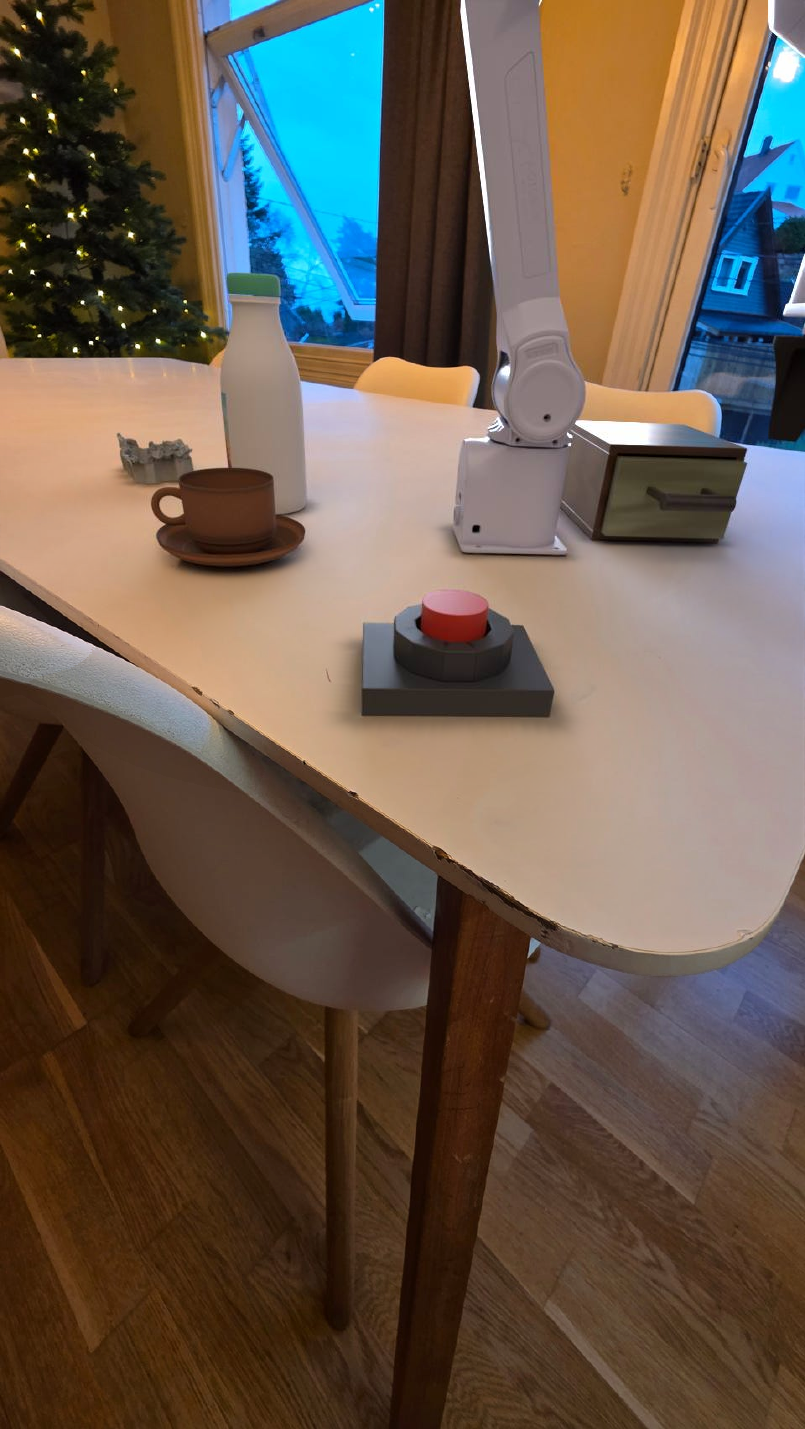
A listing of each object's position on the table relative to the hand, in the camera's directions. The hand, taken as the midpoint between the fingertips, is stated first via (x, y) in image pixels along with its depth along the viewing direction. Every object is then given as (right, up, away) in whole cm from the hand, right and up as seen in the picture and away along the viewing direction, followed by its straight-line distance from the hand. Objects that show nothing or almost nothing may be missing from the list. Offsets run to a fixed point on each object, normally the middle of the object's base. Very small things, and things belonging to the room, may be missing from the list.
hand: (785, 434), depth 53 cm
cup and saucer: (-47, -10, 0) cm, 48 cm away
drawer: (-8, -5, +8) cm, 13 cm away
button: (-30, -19, -19) cm, 40 cm away
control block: (-30, -22, -17) cm, 41 cm away
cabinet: (-9, -3, +13) cm, 16 cm away
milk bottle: (-47, -2, +12) cm, 48 cm away
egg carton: (-62, +5, +22) cm, 66 cm away
